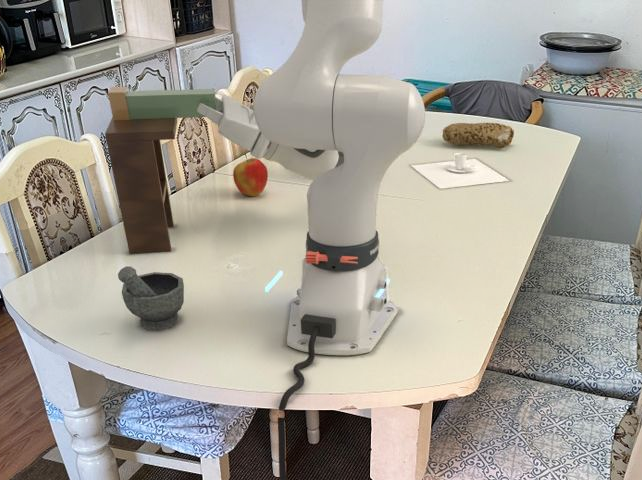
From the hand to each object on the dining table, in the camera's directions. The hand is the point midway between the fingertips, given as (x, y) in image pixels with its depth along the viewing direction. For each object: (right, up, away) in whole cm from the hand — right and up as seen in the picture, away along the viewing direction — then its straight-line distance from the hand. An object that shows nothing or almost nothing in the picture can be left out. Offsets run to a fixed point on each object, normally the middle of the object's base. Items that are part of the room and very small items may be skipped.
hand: (198, 100), depth 138 cm
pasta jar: (-7, -3, 0) cm, 7 cm away
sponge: (+63, +12, +72) cm, 96 cm away
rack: (-9, -26, +9) cm, 29 cm away
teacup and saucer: (+56, -2, +49) cm, 74 cm away
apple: (+4, -12, +32) cm, 34 cm away
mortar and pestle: (-1, -45, -21) cm, 50 cm away
